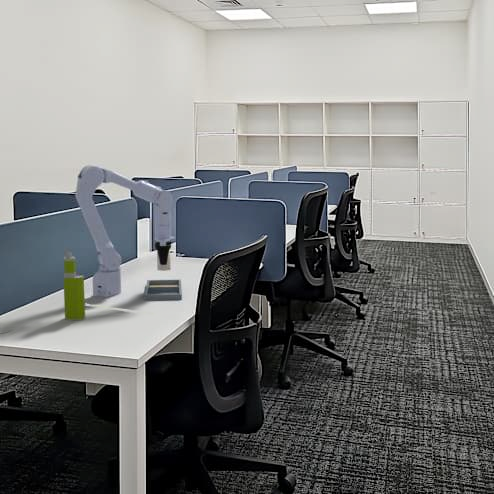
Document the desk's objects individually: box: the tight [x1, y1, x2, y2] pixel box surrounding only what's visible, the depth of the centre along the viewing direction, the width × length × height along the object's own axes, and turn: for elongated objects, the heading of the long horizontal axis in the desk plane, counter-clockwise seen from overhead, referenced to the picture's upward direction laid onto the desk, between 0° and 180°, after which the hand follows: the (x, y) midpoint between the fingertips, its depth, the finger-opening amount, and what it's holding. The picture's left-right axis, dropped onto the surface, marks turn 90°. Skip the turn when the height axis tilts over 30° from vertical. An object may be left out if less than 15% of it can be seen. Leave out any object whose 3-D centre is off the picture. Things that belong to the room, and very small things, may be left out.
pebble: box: [156, 251, 172, 272], centre depth 238 cm, size 5×5×6 cm
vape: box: [62, 250, 86, 321], centre depth 201 cm, size 4×6×20 cm, turn 81°
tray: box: [144, 279, 183, 301], centre depth 234 cm, size 24×12×2 cm, turn 6°
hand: (163, 263), depth 238 cm, fingers closed on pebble, 5 cm apart
